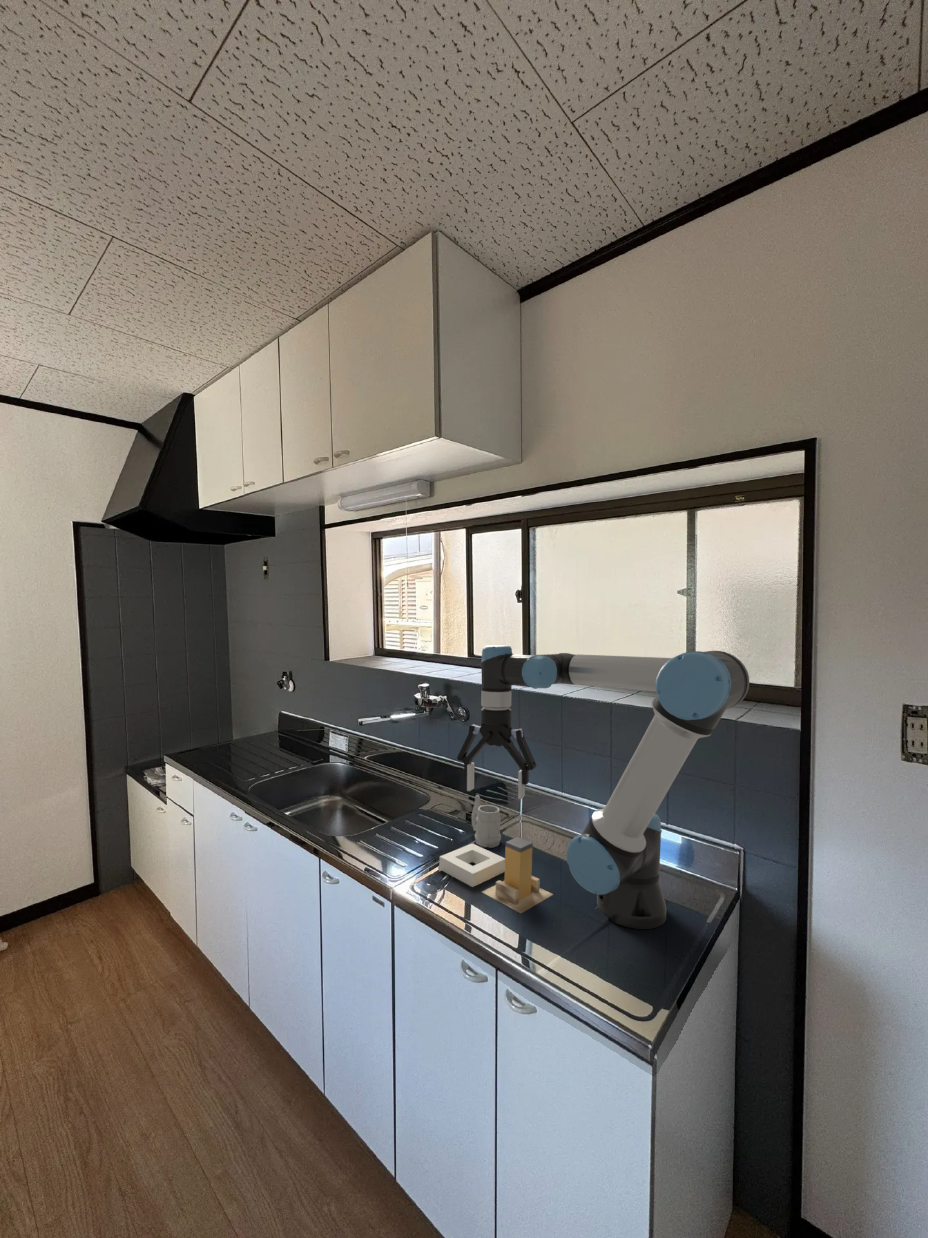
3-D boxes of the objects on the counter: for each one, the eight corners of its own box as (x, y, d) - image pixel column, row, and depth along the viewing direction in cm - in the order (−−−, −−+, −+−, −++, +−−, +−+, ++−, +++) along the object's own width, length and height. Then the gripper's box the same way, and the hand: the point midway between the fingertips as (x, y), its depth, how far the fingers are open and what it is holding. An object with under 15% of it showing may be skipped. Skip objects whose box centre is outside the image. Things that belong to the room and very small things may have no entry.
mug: (484, 850, 149) (486, 808, 149) (461, 835, 159) (463, 795, 159) (506, 844, 153) (507, 803, 153) (482, 830, 163) (483, 791, 163)
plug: (530, 893, 125) (532, 843, 125) (518, 900, 122) (520, 848, 122) (516, 886, 128) (517, 837, 128) (504, 892, 125) (505, 842, 125)
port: (505, 874, 135) (505, 858, 135) (472, 890, 127) (472, 873, 127) (471, 858, 144) (472, 843, 144) (439, 872, 136) (439, 856, 136)
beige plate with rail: (553, 898, 125) (553, 881, 125) (520, 917, 116) (521, 899, 116) (514, 878, 133) (514, 863, 133) (481, 895, 125) (482, 879, 125)
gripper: (549, 709, 129) (548, 796, 129) (457, 702, 140) (457, 782, 140) (540, 713, 123) (539, 805, 122) (444, 705, 133) (443, 790, 133)
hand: (495, 793), depth 131 cm, fingers open, 13 cm apart
